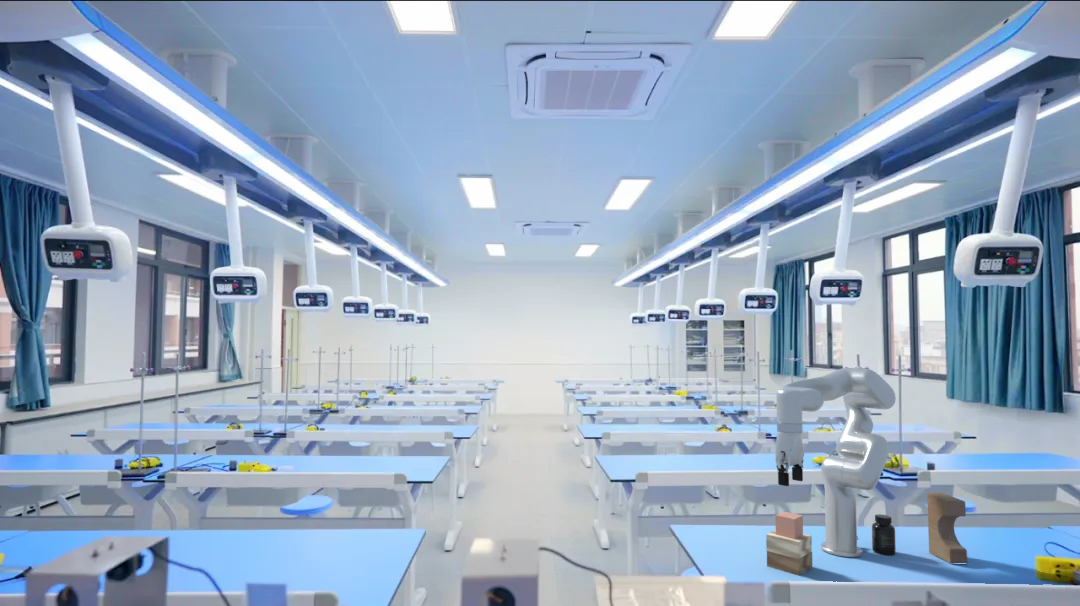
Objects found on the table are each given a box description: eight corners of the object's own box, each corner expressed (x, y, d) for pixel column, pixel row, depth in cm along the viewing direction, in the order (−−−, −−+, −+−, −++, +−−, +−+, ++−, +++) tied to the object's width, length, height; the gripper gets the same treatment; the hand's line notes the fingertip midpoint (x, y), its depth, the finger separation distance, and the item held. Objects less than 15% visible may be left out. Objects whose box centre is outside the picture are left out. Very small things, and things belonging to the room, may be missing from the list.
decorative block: (968, 565, 191) (966, 501, 193) (950, 564, 191) (948, 501, 193) (945, 552, 202) (943, 492, 204) (928, 552, 202) (926, 492, 204)
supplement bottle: (870, 547, 206) (870, 512, 207) (893, 550, 204) (892, 514, 205) (874, 554, 200) (873, 517, 201) (897, 557, 197) (896, 520, 198)
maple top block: (780, 543, 194) (780, 527, 195) (811, 551, 187) (811, 535, 188) (766, 550, 187) (766, 534, 188) (798, 559, 180) (798, 542, 181)
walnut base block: (780, 559, 194) (780, 543, 194) (812, 568, 187) (812, 551, 187) (766, 567, 187) (766, 550, 187) (799, 576, 180) (798, 559, 180)
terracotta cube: (784, 530, 192) (783, 511, 192) (803, 535, 188) (802, 515, 188) (775, 534, 188) (775, 515, 188) (794, 539, 183) (794, 519, 184)
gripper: (790, 424, 199) (791, 476, 198) (765, 429, 187) (766, 485, 186) (813, 427, 193) (814, 480, 192) (789, 432, 181) (790, 489, 180)
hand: (790, 482), depth 189 cm, fingers open, 9 cm apart
